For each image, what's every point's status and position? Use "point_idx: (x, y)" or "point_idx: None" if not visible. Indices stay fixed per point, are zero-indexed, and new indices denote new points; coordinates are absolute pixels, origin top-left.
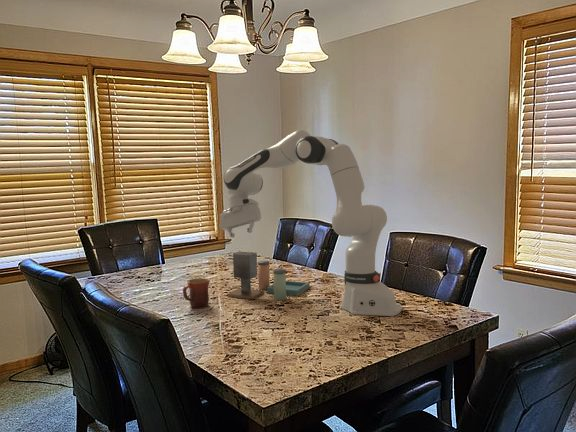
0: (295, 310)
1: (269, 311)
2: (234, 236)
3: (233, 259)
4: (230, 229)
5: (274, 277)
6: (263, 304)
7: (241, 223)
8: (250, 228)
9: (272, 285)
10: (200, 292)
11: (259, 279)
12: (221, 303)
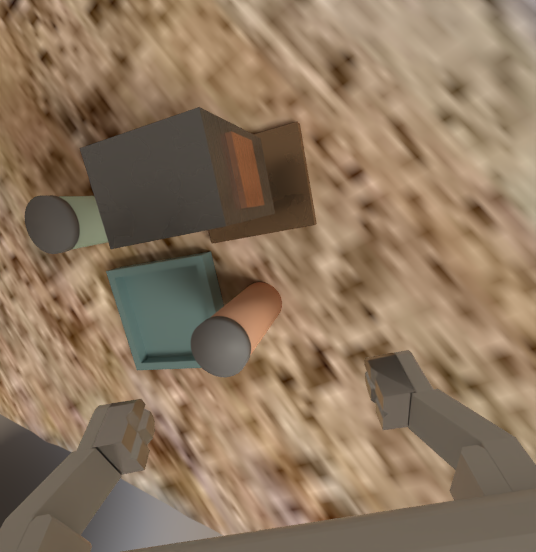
0: (35, 139)
1: (73, 79)
2: (368, 391)
3: (216, 117)
4: (458, 471)
5: (75, 197)
6: (133, 129)
7: (181, 546)
8: (87, 448)
9: (206, 291)
10: None
11: (254, 294)
12: (257, 31)
